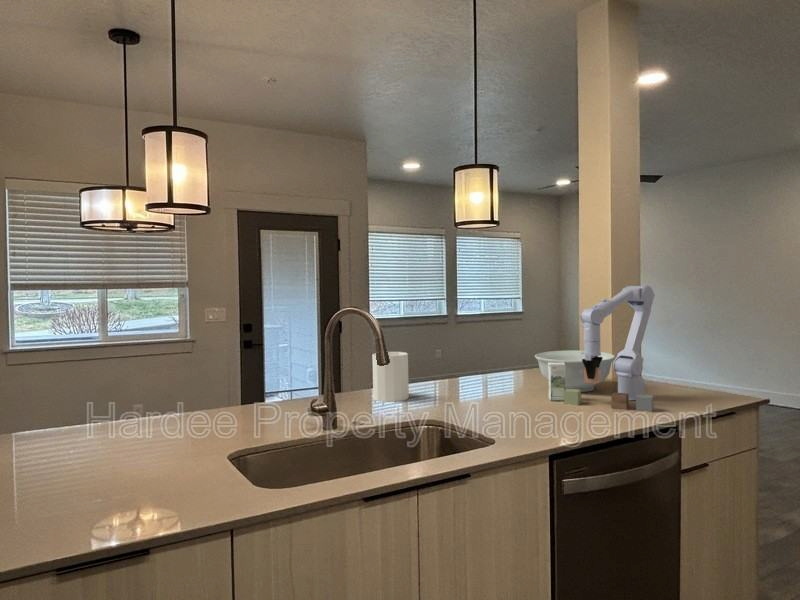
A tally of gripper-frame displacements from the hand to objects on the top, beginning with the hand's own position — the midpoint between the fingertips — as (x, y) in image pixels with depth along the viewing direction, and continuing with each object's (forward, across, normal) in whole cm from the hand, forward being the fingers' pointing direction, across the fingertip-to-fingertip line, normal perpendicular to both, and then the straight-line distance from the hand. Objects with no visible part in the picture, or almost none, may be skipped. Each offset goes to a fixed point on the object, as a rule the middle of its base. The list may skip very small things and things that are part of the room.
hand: (592, 377), depth 209 cm
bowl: (+10, -26, -13) cm, 31 cm away
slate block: (+10, +2, +18) cm, 21 cm away
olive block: (+10, +2, -7) cm, 12 cm away
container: (+10, +23, -75) cm, 79 cm away
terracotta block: (+2, 0, 0) cm, 2 cm away
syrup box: (+10, -2, -14) cm, 17 cm away
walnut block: (+10, +2, +10) cm, 14 cm away
